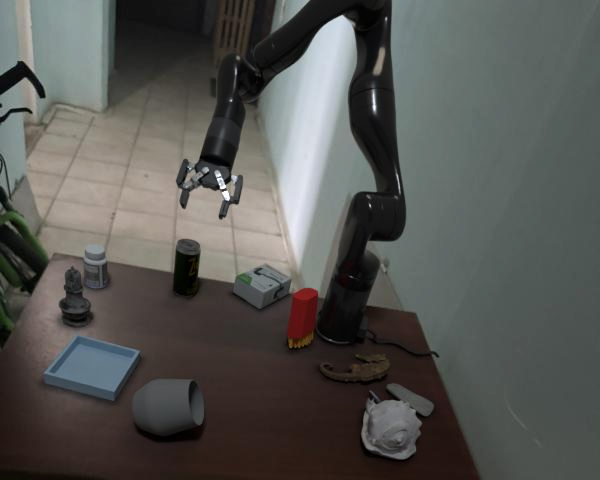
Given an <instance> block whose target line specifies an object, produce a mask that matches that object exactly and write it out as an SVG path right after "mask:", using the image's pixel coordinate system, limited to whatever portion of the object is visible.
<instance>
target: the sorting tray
mask: <svg viewBox="0 0 600 480" xmlns="http://www.w3.org/2000/svg"><path fill="white" fill-rule="evenodd" d="M140 361H141V350H139V349H134V348H132V347H131V348H130V347H128V346H123V345H119V344H115V343H113V342H109V341H104V340H101V339H97V338H94V337H89V336H86V335H82V334H79V333H76V334H75V335H74V336H73V337H72V338H71V340H70V341H69V342H68V343H67V345H66V346H65V347H63V349H62V351H61V352H60V353H59V354H58V355H57V356H56V358H55V359H54V360H53V361H52V362H51V364H50V365H49V366H48V367H47V368H46V370H45V371H44V372H43V378H44V380H43V381H44V383H45V384H46V385H51V386H55V387H58V388H62V389H66V390H69V391H73V392H77V393H81V394H85V395H88V396H91V397H95V398H100V399H103V400H108V401H111V402H115V401H116V399H117V398H118V397H119V394H120V393H121V391H122V390H123V388H124V387H125V385H126V383H127V382H128V380H129V379H130V377H131V376H132V375H133V372H134V371H135V369H136V367H137V366H138V365H139V362H140Z"/></svg>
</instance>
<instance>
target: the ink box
mask: <svg viewBox="0 0 600 480" xmlns="http://www.w3.org/2000/svg"><path fill="white" fill-rule="evenodd" d="M292 280H293V278H292V277H291V276H289V275H287V274H286V273H284V272H282V271H280V270H279V269H277V268H275V267H274V266H272V265H270V264H269V263H263V264H261V265H259V266H256V267H254V268H252V269H249V270H247V271H245V272H242V273H240V274H238V275H236V276H235V279H234V283H233V289H232V293H233V294H234V295H236V296H237V297H239V298H240V299H242V300H243V301H245V302H247V303H248V304H250V305H252V306H253V307H254V308H257V309H258V310H262V309H263V308H266V307H267V306H269V305H271V304H272V303H275V302H276V301H278V300H280V299H282V298H284V297H285V296H288V295H289V294H290V290H291V285H292ZM284 292H286V293H284Z"/></svg>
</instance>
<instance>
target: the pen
mask: <svg viewBox="0 0 600 480" xmlns="http://www.w3.org/2000/svg"><path fill="white" fill-rule="evenodd" d="M368 391H369V393H370V394H371V395H370V396H371V397H372V399H374V401H376V403H377V404H379V403H381V402H382V400H381V399H380V398H379V397H378V396H377V395H376V394H375V392H373V391H372V390H370V389H369V390H368Z"/></svg>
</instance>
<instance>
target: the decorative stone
mask: <svg viewBox="0 0 600 480" xmlns="http://www.w3.org/2000/svg"><path fill="white" fill-rule="evenodd" d="M385 389H386V390H387V391H388V392H389V393H390V394H391V395H393V397H395V398H396V399H397V400H398V401H401V400H402V401H403V402H404V403H407V402H408V403H409V404H410V408H411V409H415V410H416V413H417V414H419V415H420V416H423V417H429V416H430V415H431V413H432V412H433V410H434V408H435V404H434V403H433V402H432V401H431V400H429V399H427V398H425V397H424V396H421V395H419V394H416V393H415V392H413V391H411V390H409V389H408V388H406V387H404V386H402V385H400V384H399V383H396V382H394V383H388V384H387V385H386V386H385Z"/></svg>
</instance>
